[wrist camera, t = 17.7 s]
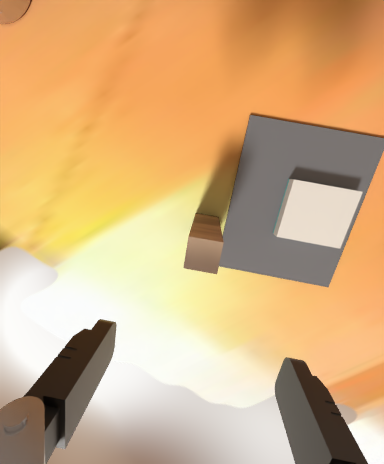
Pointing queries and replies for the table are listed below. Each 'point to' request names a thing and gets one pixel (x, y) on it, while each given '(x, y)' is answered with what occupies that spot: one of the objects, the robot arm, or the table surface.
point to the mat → (273, 187)
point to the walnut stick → (204, 244)
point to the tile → (316, 213)
